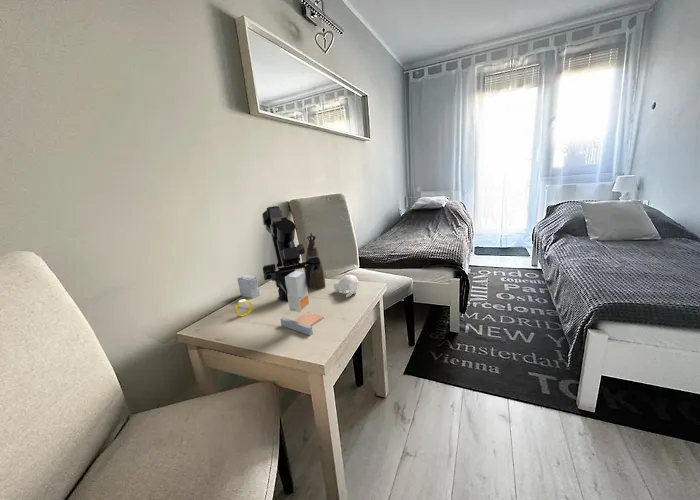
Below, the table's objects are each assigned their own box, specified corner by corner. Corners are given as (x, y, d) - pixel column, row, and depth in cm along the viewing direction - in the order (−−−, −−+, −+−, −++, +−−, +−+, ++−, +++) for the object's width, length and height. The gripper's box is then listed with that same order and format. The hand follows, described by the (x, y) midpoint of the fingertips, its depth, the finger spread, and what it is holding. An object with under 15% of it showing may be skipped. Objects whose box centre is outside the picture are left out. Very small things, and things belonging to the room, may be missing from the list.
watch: (239, 319, 108) (235, 305, 107) (236, 317, 110) (232, 303, 109) (254, 312, 112) (250, 298, 111) (251, 310, 114) (247, 296, 113)
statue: (325, 282, 138) (318, 231, 131) (325, 288, 131) (318, 234, 124) (307, 284, 137) (299, 233, 130) (306, 291, 130) (298, 237, 123)
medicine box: (260, 294, 130) (256, 276, 128) (252, 298, 127) (248, 279, 125) (248, 292, 135) (245, 274, 133) (240, 296, 131) (237, 278, 129)
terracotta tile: (308, 313, 107) (307, 312, 107) (324, 318, 102) (324, 316, 102) (291, 322, 101) (291, 321, 101) (307, 328, 96) (307, 326, 96)
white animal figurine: (348, 278, 114) (327, 276, 122) (352, 298, 116) (331, 295, 124) (358, 273, 119) (337, 272, 127) (362, 293, 120) (340, 290, 128)
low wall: (284, 323, 101) (283, 317, 100) (312, 333, 92) (311, 326, 92) (281, 325, 100) (280, 318, 99) (310, 335, 91) (309, 328, 91)
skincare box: (300, 312, 93) (295, 277, 90) (289, 311, 95) (283, 276, 92) (310, 304, 99) (305, 270, 95) (299, 303, 100) (294, 270, 97)
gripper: (258, 241, 91) (267, 285, 84) (315, 232, 97) (328, 273, 90) (260, 259, 100) (268, 300, 93) (312, 250, 106) (324, 288, 99)
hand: (297, 290), depth 94 cm, fingers closed on skincare box, 7 cm apart
